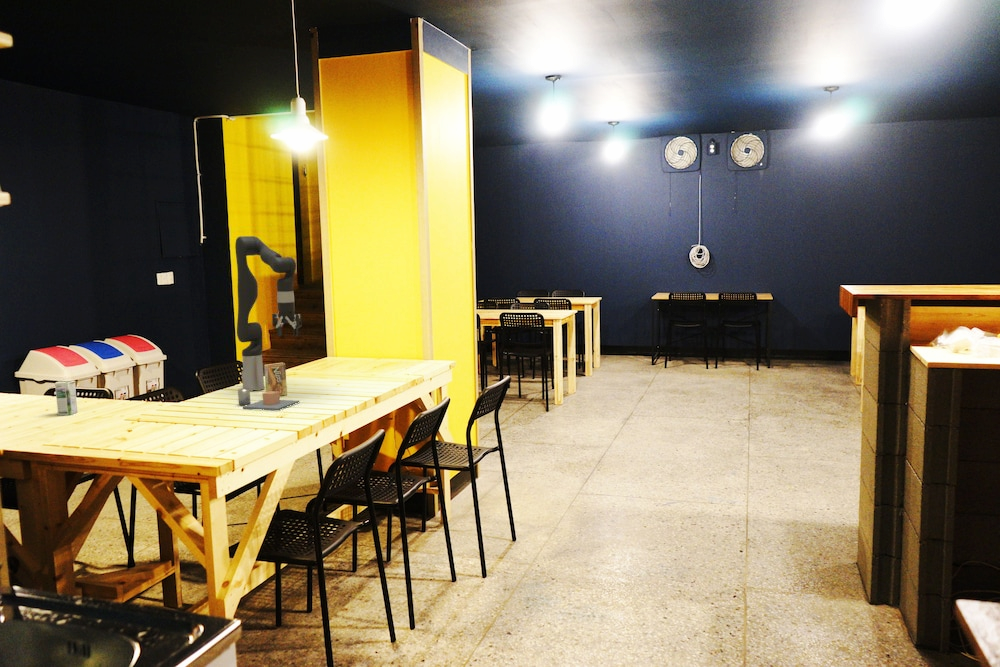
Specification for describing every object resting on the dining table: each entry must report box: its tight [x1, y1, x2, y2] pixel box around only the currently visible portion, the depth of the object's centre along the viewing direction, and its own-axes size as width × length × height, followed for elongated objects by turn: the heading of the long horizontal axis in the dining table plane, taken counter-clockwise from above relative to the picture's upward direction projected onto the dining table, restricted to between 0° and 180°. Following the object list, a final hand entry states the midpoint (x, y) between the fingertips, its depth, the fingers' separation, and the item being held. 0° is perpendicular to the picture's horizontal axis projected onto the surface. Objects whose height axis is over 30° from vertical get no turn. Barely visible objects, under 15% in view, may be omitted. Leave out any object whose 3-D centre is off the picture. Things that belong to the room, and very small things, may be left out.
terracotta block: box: [262, 391, 281, 405], centre depth 330 cm, size 5×5×5 cm
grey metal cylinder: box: [237, 387, 252, 407], centre depth 334 cm, size 5×5×7 cm
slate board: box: [242, 399, 300, 411], centre depth 331 cm, size 18×16×1 cm
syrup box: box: [54, 380, 78, 416], centre depth 326 cm, size 6×6×14 cm
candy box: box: [263, 362, 288, 397], centre depth 352 cm, size 9×4×15 cm, turn 129°
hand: (287, 336), depth 345 cm, fingers open, 8 cm apart
